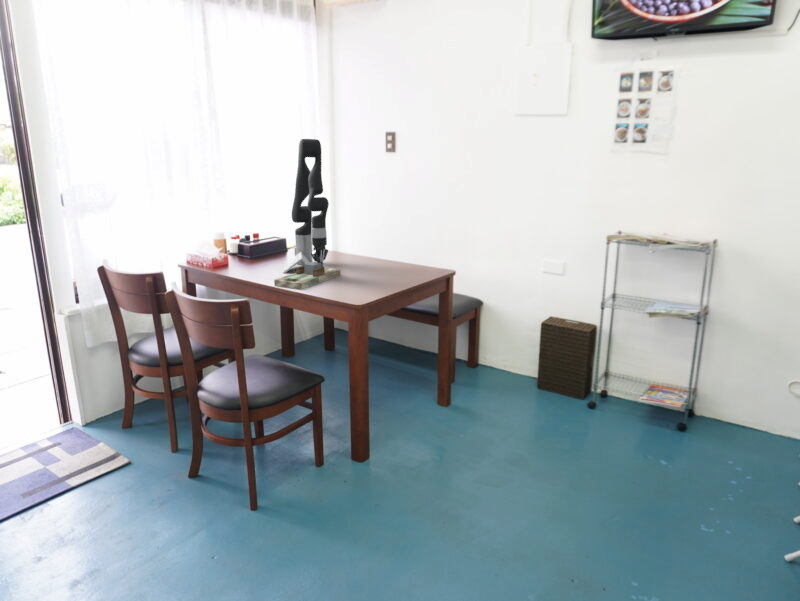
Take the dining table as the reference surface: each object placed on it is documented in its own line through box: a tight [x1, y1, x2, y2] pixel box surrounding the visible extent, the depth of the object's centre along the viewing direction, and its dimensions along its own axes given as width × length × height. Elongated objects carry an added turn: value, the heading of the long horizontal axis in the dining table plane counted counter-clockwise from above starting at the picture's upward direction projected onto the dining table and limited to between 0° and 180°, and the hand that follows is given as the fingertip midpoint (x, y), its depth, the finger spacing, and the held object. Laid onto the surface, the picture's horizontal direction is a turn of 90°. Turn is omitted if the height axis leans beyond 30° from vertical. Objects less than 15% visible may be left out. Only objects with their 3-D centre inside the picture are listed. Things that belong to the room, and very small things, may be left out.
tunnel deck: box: [273, 265, 342, 290], centre depth 291 cm, size 16×35×6 cm, turn 153°
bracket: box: [282, 252, 310, 274], centre depth 318 cm, size 13×10×20 cm
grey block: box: [304, 261, 322, 275], centre depth 294 cm, size 6×7×5 cm
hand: (320, 268), depth 300 cm, fingers closed
